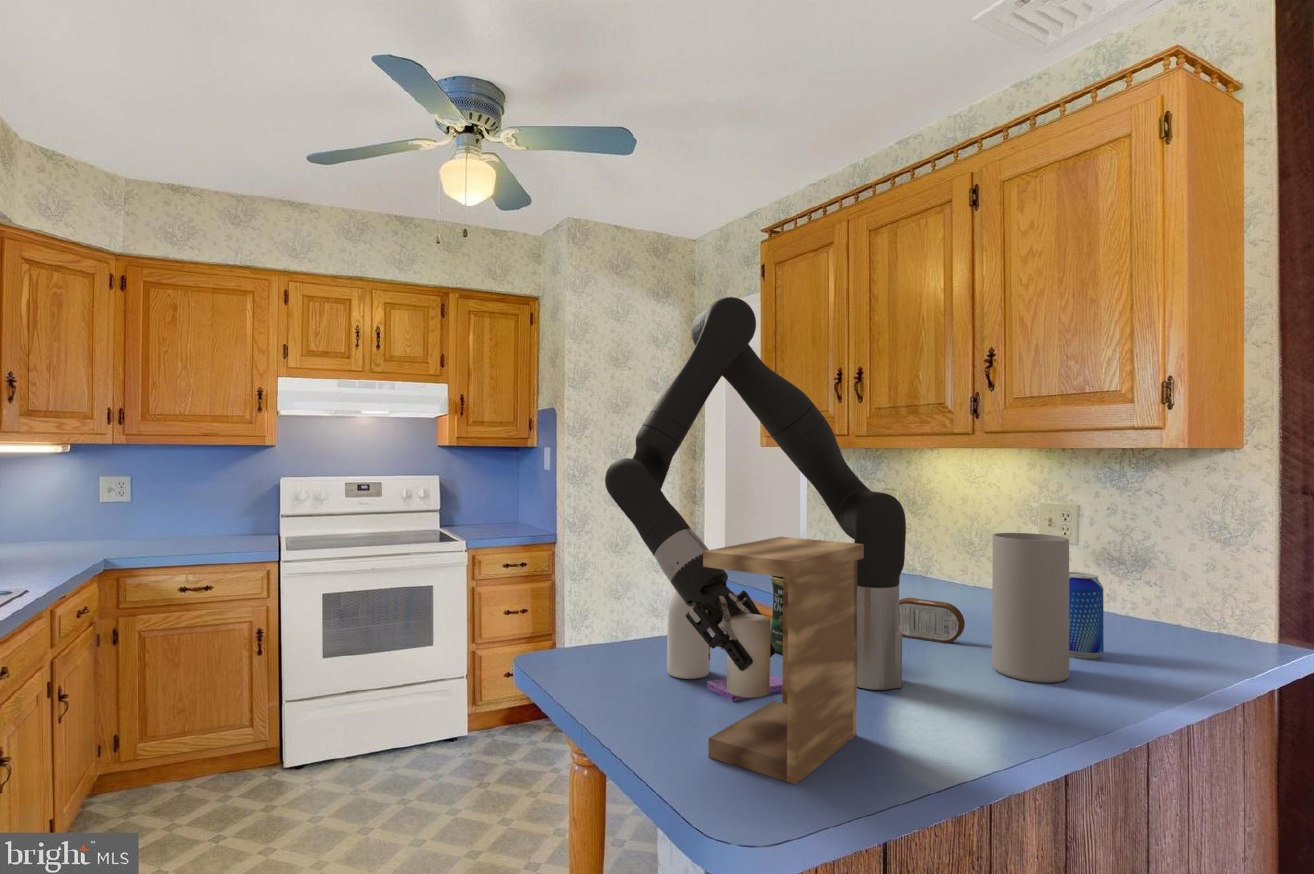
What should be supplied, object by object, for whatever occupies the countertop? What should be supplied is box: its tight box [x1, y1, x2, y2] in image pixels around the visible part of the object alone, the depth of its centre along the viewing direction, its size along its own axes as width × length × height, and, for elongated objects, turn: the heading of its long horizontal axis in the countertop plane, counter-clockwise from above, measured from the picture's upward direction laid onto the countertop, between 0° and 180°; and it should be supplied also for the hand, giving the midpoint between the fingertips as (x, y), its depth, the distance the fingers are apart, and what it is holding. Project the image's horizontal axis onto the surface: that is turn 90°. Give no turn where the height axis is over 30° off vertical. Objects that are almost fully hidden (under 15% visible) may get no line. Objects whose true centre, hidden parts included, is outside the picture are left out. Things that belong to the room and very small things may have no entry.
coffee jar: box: [770, 575, 783, 655], centre depth 144 cm, size 10×8×19 cm
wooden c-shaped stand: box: [703, 536, 864, 785], centre depth 98 cm, size 13×22×27 cm, turn 143°
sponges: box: [706, 674, 783, 702], centre depth 121 cm, size 7×13×2 cm, turn 121°
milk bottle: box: [666, 588, 711, 680], centre depth 130 cm, size 8×8×20 cm
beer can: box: [1069, 571, 1105, 660], centre depth 145 cm, size 8×8×16 cm
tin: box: [899, 597, 965, 644], centre depth 155 cm, size 15×3×8 cm, turn 58°
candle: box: [726, 614, 772, 699], centre depth 101 cm, size 6×6×10 cm
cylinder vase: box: [991, 532, 1070, 684], centre depth 132 cm, size 12×12×25 cm
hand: (759, 661), depth 100 cm, fingers closed on candle, 6 cm apart
